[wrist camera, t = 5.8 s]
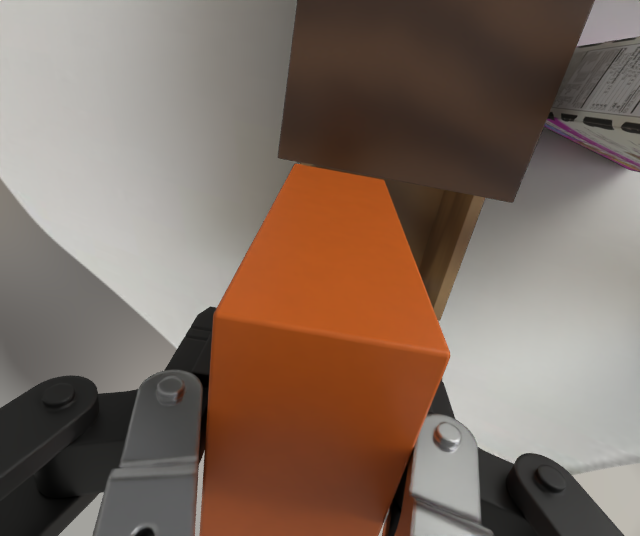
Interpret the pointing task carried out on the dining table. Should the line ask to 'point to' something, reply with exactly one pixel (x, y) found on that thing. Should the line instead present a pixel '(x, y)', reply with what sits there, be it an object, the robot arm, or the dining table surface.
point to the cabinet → (427, 88)
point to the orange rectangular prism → (318, 366)
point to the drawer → (433, 231)
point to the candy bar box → (602, 101)
